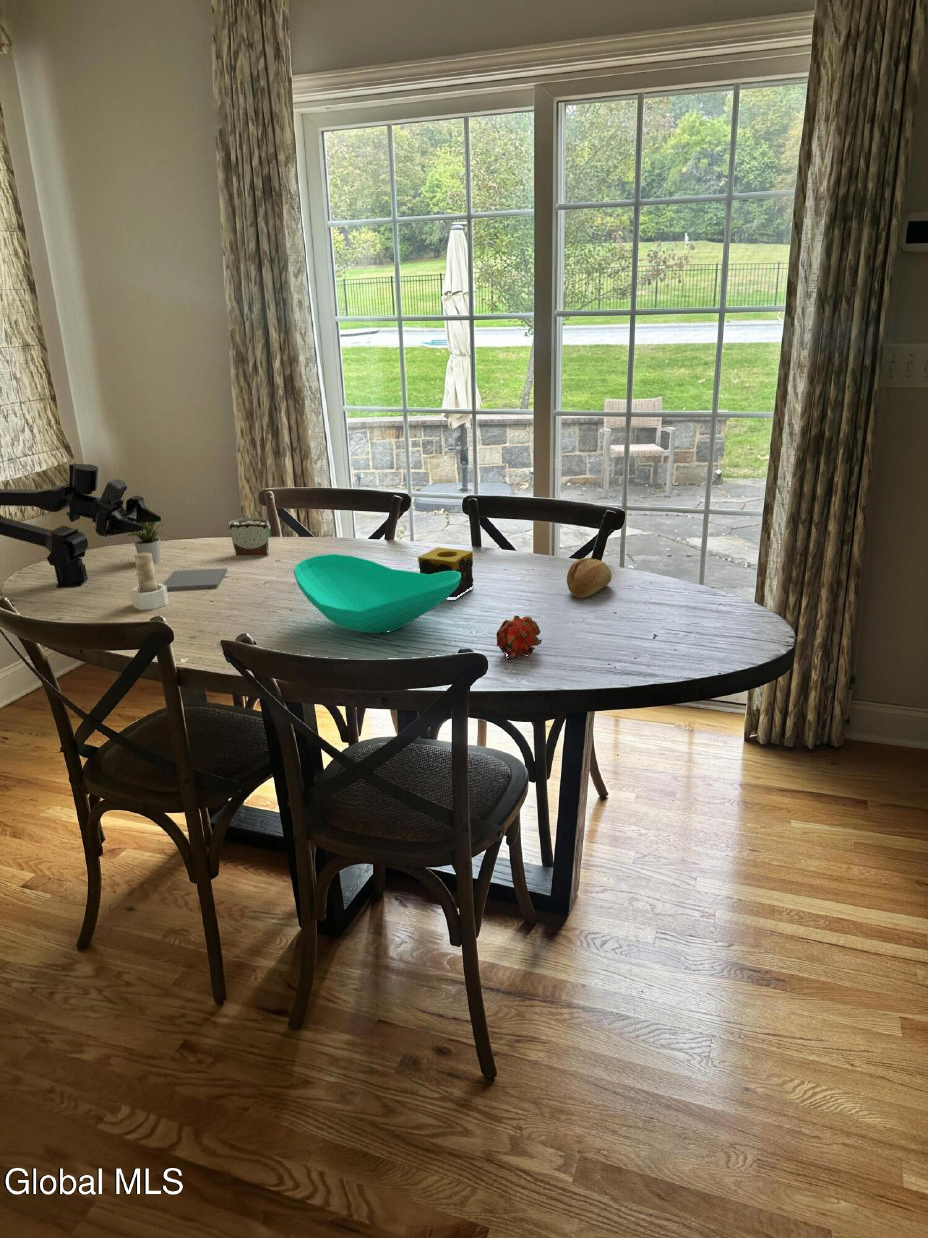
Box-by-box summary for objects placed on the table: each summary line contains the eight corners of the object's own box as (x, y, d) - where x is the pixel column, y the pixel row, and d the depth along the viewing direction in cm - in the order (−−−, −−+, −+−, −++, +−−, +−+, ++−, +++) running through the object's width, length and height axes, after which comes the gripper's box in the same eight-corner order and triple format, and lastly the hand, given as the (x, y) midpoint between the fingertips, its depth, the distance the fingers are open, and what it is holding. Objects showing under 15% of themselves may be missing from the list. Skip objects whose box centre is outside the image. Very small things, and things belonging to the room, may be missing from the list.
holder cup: (131, 610, 205) (128, 594, 204) (139, 599, 212) (137, 584, 211) (163, 608, 205) (160, 592, 204) (171, 598, 213) (168, 582, 211)
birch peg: (140, 607, 207) (132, 557, 202) (145, 602, 211) (136, 553, 206) (157, 606, 207) (149, 556, 203) (161, 601, 211) (153, 552, 206)
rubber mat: (161, 591, 218) (161, 587, 218) (174, 574, 231) (174, 570, 231) (217, 587, 219) (216, 584, 219) (227, 571, 232) (226, 568, 232)
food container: (279, 550, 250) (275, 516, 247) (272, 556, 245) (268, 522, 241) (238, 550, 252) (234, 517, 248) (231, 556, 246) (226, 522, 242)
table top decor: (269, 634, 187) (262, 576, 183) (346, 596, 210) (341, 543, 205) (421, 666, 168) (418, 602, 164) (488, 620, 190) (487, 563, 186)
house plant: (120, 558, 248) (110, 503, 242) (170, 551, 253) (161, 496, 248) (124, 571, 236) (114, 513, 230) (176, 563, 241) (167, 506, 235)
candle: (418, 596, 208) (416, 557, 204) (438, 584, 216) (436, 546, 212) (455, 602, 203) (453, 561, 200) (474, 589, 211) (473, 550, 208)
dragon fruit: (534, 650, 178) (510, 680, 169) (503, 624, 179) (477, 652, 169) (555, 625, 172) (532, 654, 163) (522, 598, 173) (497, 626, 164)
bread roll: (557, 598, 203) (557, 566, 200) (581, 580, 215) (581, 550, 212) (595, 604, 199) (596, 571, 196) (617, 585, 211) (618, 554, 208)
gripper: (75, 485, 206) (135, 502, 205) (115, 470, 224) (172, 485, 223) (72, 528, 211) (132, 545, 210) (113, 510, 228) (168, 525, 227)
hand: (152, 523), depth 217 cm, fingers open, 9 cm apart
